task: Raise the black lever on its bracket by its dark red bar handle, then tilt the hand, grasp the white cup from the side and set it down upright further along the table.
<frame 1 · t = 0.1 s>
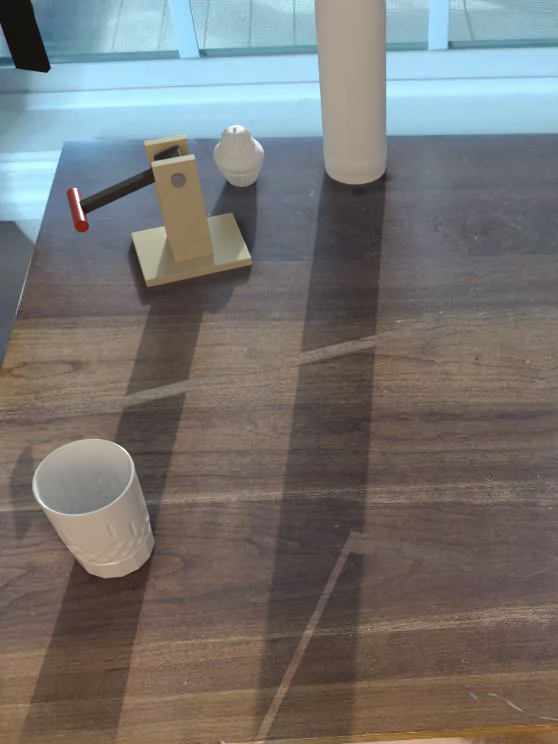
bracket: (192, 254, 99), on the table
bottle: (355, 170, 110), on the table
lever: (128, 186, 90), point 10 cm above the table, hinge at -15.0°
muffin: (242, 182, 108), on the table
white cup: (117, 548, 77), on the table
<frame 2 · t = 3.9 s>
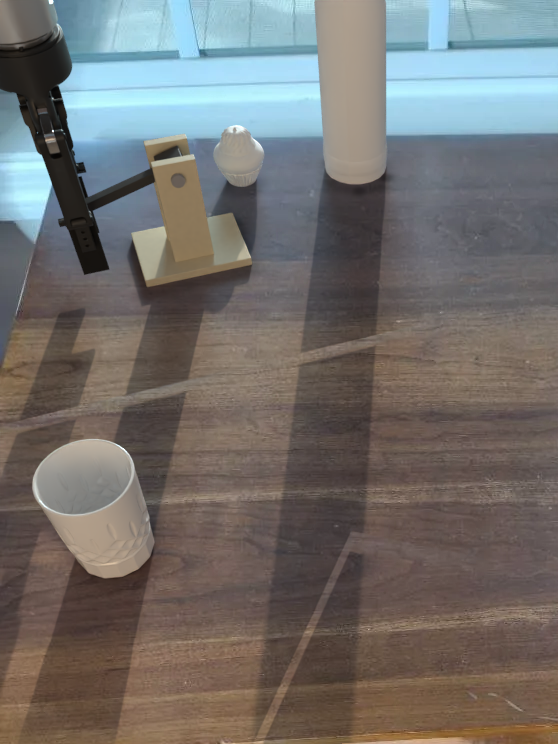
hand: (91, 251, 95), 3 cm above the table, tool pointing down, fingers closed on lever, 6 cm apart
lever: (127, 186, 90), point 10 cm above the table, hinge at -15.0°, touching gripper
everything else where it was.
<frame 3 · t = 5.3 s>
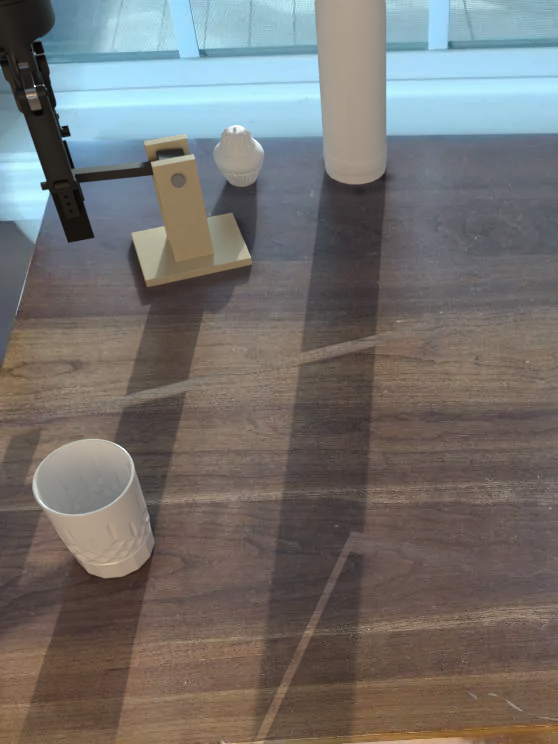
hand: (76, 219, 91), 7 cm above the table, tool pointing down, fingers closed on lever, 6 cm apart
lever: (122, 171, 89), point 11 cm above the table, hinge at 5.2°, touching gripper
everything else where it was.
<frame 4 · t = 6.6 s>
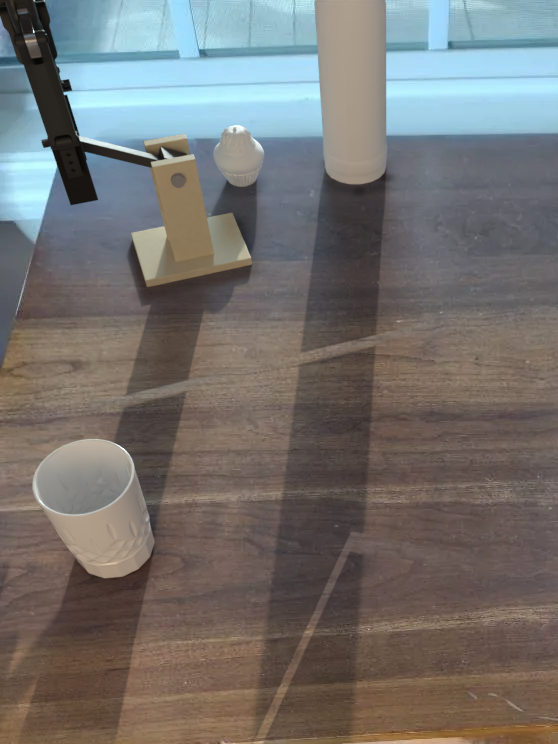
hand: (78, 179, 88), 11 cm above the table, tool pointing down, fingers open, 7 cm apart
lever: (122, 153, 88), point 13 cm above the table, hinge at 26.2°
everything else where it was.
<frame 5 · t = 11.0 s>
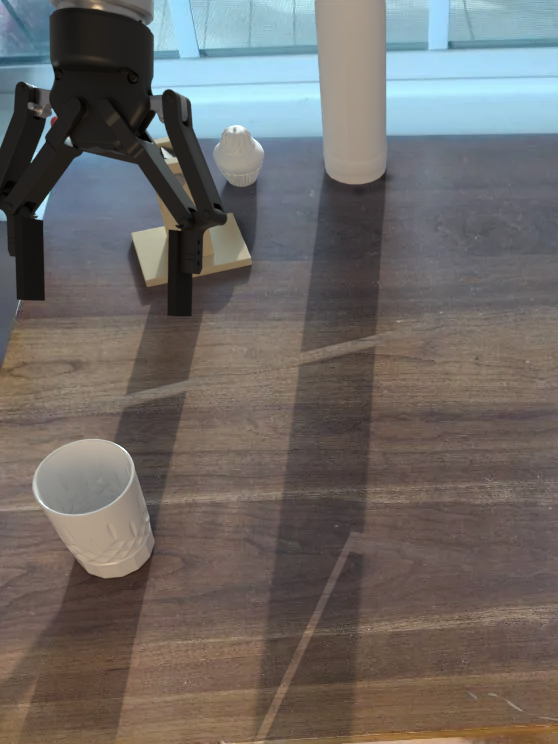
hand: (103, 308, 71), 15 cm above the table, tool tilted 40°, fingers open, 13 cm apart
nothing on the table moved.
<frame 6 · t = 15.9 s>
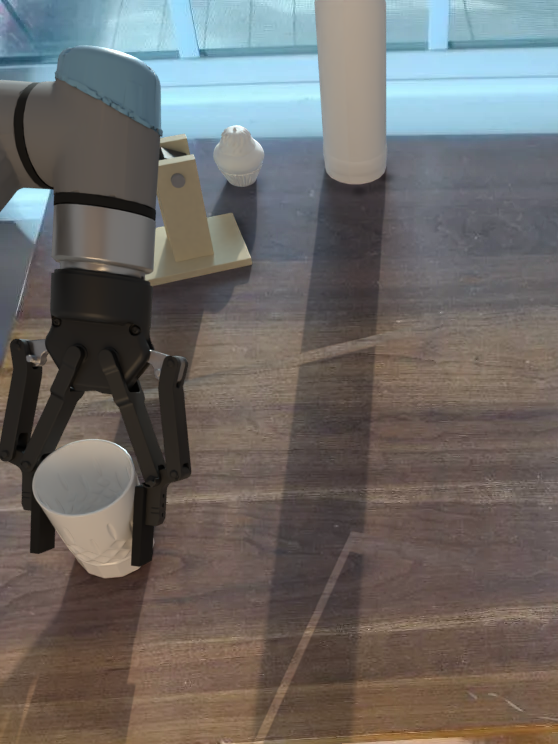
hand: (91, 556, 72), 4 cm above the table, tool tilted 45°, fingers closed on white cup, 8 cm apart
white cup: (117, 548, 77), on the table, touching gripper
everything else where it was.
when the fingers open (4 cm above the table, at t = 23.6 s): white cup stays where it is, on the table.
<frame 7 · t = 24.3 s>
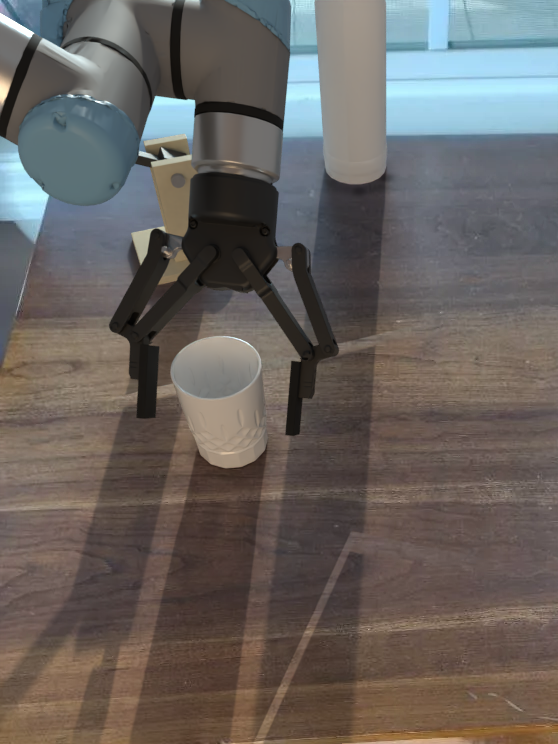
hand: (218, 426, 78), 5 cm above the table, tool tilted 45°, fingers open, 13 cm apart
white cup: (233, 443, 84), on the table
everything else where it was.
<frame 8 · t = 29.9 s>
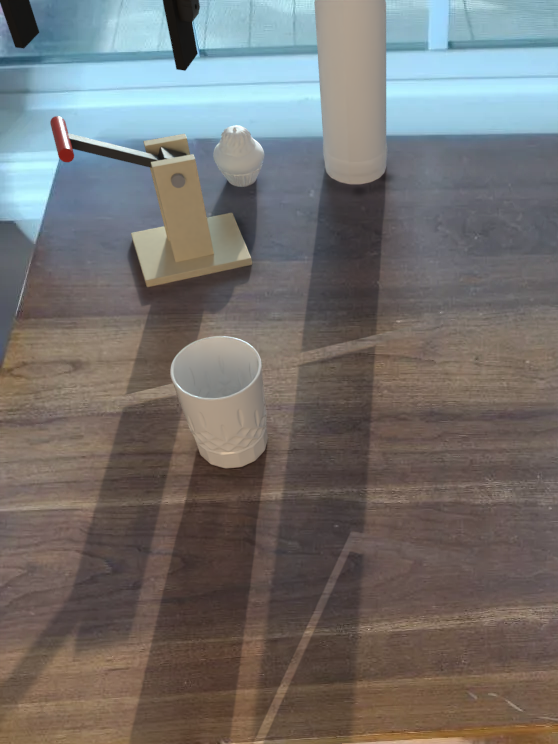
hand: (106, 51, 69), 29 cm above the table, tool pointing down, fingers open, 13 cm apart
nothing on the table moved.
at the end: lever at +26° (first picture: -15°); white cup inside the target area (0.0 cm from its centre), on the table; white cup tilted 0° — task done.
